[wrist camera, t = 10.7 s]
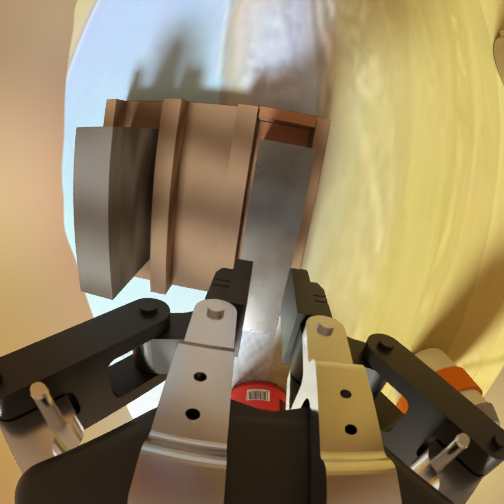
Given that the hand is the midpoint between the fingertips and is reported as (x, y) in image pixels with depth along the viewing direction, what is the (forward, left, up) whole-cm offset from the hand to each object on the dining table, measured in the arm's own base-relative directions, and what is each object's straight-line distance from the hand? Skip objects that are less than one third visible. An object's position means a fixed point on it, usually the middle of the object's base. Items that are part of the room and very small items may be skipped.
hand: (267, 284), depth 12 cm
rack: (0, -6, -14) cm, 15 cm away
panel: (0, 0, -12) cm, 12 cm away
